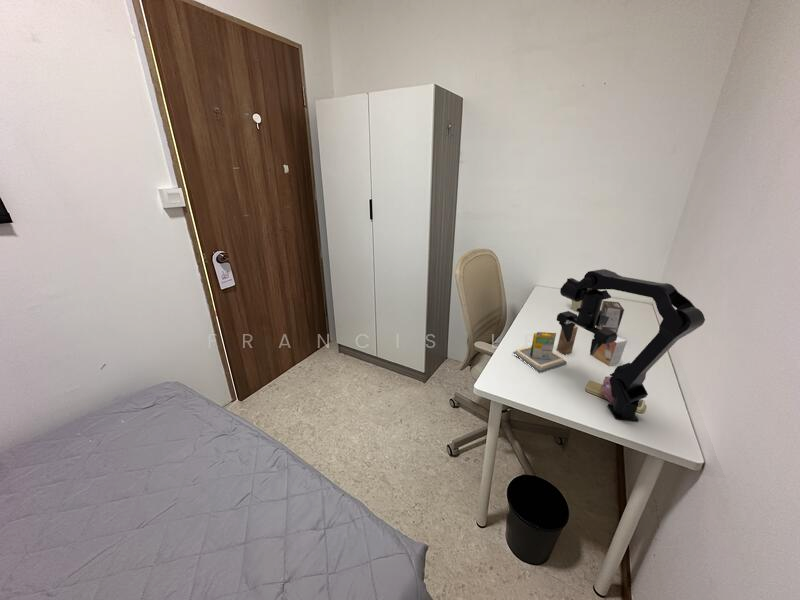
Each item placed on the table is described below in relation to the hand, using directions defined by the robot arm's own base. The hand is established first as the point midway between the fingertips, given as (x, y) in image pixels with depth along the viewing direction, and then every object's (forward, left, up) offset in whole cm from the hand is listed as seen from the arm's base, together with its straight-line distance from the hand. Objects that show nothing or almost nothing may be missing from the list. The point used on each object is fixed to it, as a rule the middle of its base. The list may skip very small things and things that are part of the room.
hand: (579, 348), depth 115 cm
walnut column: (+20, -3, -13) cm, 24 cm away
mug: (+64, -24, -13) cm, 70 cm away
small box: (+16, -18, -13) cm, 28 cm away
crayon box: (+12, +8, -12) cm, 19 cm away
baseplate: (+12, +8, -13) cm, 20 cm away
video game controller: (-7, -10, -13) cm, 18 cm away
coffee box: (+35, -25, -13) cm, 45 cm away
